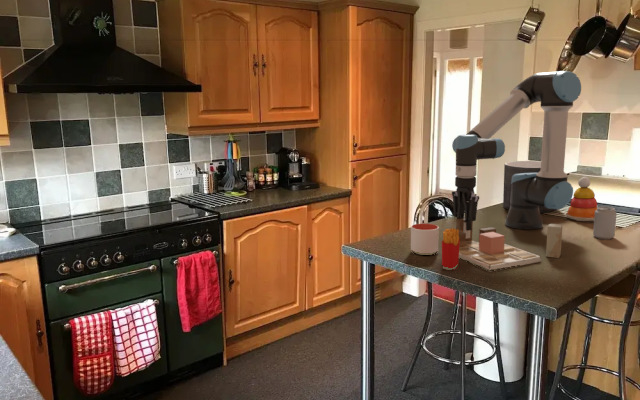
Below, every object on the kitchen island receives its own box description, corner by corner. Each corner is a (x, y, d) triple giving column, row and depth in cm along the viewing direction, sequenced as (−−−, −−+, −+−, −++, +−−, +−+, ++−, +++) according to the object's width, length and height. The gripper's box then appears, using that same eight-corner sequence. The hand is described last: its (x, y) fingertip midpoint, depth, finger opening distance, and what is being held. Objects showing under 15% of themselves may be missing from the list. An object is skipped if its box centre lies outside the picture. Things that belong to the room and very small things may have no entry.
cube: (478, 250, 185) (479, 233, 184) (492, 247, 187) (492, 231, 186) (490, 254, 180) (491, 237, 179) (504, 252, 182) (504, 235, 181)
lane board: (445, 252, 191) (445, 247, 190) (492, 244, 199) (492, 239, 199) (489, 271, 169) (489, 266, 169) (540, 261, 177) (540, 256, 177)
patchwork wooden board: (448, 249, 191) (448, 233, 189) (491, 242, 198) (491, 227, 197) (489, 266, 171) (489, 249, 169) (534, 258, 178) (535, 241, 177)
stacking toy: (589, 215, 240) (593, 173, 237) (607, 222, 226) (611, 178, 223) (559, 216, 240) (562, 174, 236) (575, 223, 226) (578, 179, 222)
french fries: (450, 272, 170) (451, 233, 167) (438, 269, 172) (439, 232, 170) (461, 264, 177) (462, 227, 174) (449, 262, 179) (450, 226, 177)
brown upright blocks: (455, 243, 198) (456, 219, 196) (467, 241, 200) (468, 217, 198) (495, 259, 178) (496, 232, 176) (508, 256, 180) (509, 230, 178)
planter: (566, 207, 256) (570, 163, 252) (540, 216, 241) (543, 169, 236) (519, 200, 276) (521, 159, 271) (492, 208, 260) (494, 164, 256)
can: (617, 240, 199) (619, 210, 197) (596, 239, 201) (598, 209, 199) (610, 235, 207) (613, 205, 204) (590, 234, 208) (592, 205, 206)
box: (558, 258, 180) (560, 227, 178) (545, 256, 182) (547, 226, 180) (560, 254, 184) (562, 224, 182) (547, 252, 187) (549, 223, 185)
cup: (422, 258, 184) (422, 231, 182) (405, 251, 193) (405, 225, 191) (444, 254, 189) (444, 227, 187) (426, 247, 198) (426, 222, 196)
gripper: (444, 174, 198) (443, 233, 203) (471, 180, 184) (469, 243, 189) (460, 173, 201) (458, 231, 206) (488, 178, 187) (485, 240, 192)
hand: (463, 237), depth 197 cm, fingers closed on brown upright blocks, 2 cm apart
